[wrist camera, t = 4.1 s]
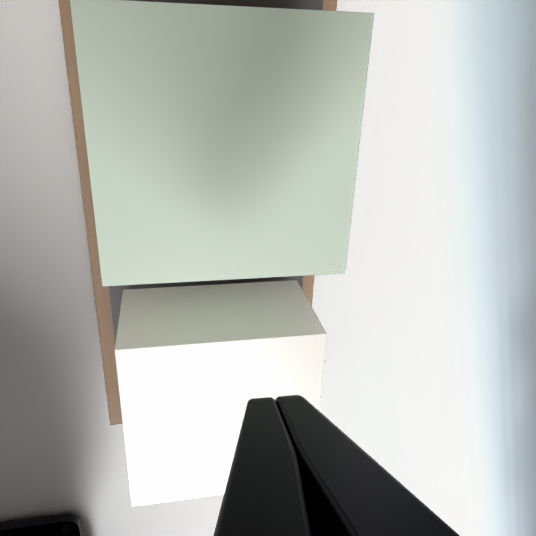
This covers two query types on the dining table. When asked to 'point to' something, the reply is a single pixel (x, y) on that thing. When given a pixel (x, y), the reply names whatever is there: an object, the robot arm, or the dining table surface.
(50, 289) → the dining table surface
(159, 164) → the key sage
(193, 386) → the key white
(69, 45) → the key panel
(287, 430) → the robot arm
